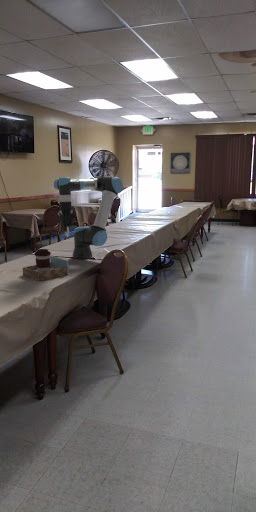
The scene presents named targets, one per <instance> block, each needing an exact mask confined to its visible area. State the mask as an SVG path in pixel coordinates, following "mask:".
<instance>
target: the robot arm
mask: <svg viewBox="0 0 256 512" xmlns="http://www.w3.org/2000/svg"><path fill="white" fill-rule="evenodd" d="M123 183H124V182H123V180H121V178H120V177H117V176H98V177H90V178H86V179H85V178H82V179H81V178H78V179H77V178H70V177H69V176H66V177H65V176H64V177H63V176H62V177H59V178H57V179H55V180H54V181H53V188H54V189H55V190H57V191H59V194H58V195H59V196H58V197H59V207H60V209H59V212H56V214H57V215H58V220H59V223H60V226H61V227H63V231H64V235H65V236H64V237H67V238H68V237H70V231H71V227H72V225H73V222H74V216H75V215H74V214H75V213H76V212H75V210H73V209H72V192H79V191H82V190H84V191H85V190H90V191H91V192H101V193H102V197H101V201H100V204H99V207H98V210H97V213H96V217H95V219H94V223H93V224H91V226H87V225H85V226H78V227H75V228H74V229H73V240H74V242H73V245H74V247H73V251H72V254H71V255H72V258H73V259H77V260H86V259H87V260H88V259H91V258H93V252H92V249H91V246H94V247H101V246H104V245H105V244H106V242H107V241H108V233H107V229H106V226H107V222H108V219H109V216H110V212H111V209H112V207H113V203H114V200H115V199H116V198H117V197H118V195H119V194H121V193H122V191H123V189H124V184H123Z"/></svg>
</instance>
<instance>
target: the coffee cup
mask: <svg viewBox="0 0 256 512" xmlns="http://www.w3.org/2000/svg"><path fill="white" fill-rule="evenodd" d="M51 253H52V252H51V251H50V250H49V249H47V248H38V249H36V251H34V254H33V255H34V256H35V265H36V266H37V272H44V271H48V270H49V267H50V256H52V254H51Z"/></svg>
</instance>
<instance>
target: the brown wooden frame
mask: <svg viewBox="0 0 256 512" xmlns="http://www.w3.org/2000/svg"><path fill="white" fill-rule="evenodd" d="M49 268H51V262H50V267H49ZM34 270H37V266H36V264H32V265H28V266H22V275H23V276H25V277H27V278H29V279H32V280H36V281H37V282H41V281H46V280H50V279H54V278H55V279H56V278H58V277H59V278H60V277H62V276H67V267H62V268H58V269H53V270H48V271H44V272H37V271H34Z"/></svg>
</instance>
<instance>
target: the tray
mask: <svg viewBox="0 0 256 512" xmlns="http://www.w3.org/2000/svg"><path fill="white" fill-rule="evenodd" d="M50 262H51V268H49V270H53V269H58V268H62V267H67V275H70V266H69V264H70V262H69V260H68V259H64V258H61V257H57V256H54V255H50ZM34 271H37V270H34ZM67 275H66V276H67Z"/></svg>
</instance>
